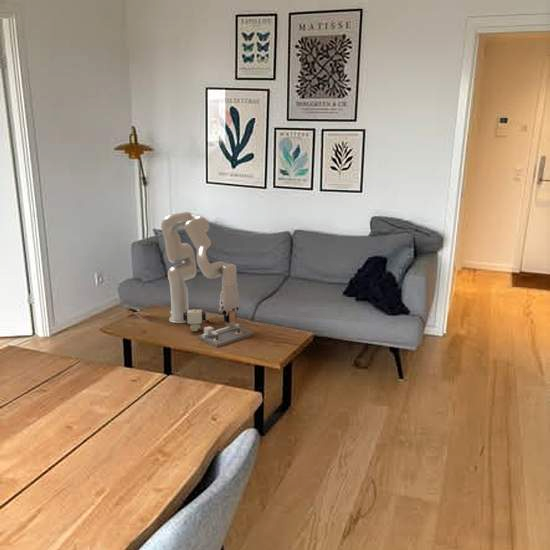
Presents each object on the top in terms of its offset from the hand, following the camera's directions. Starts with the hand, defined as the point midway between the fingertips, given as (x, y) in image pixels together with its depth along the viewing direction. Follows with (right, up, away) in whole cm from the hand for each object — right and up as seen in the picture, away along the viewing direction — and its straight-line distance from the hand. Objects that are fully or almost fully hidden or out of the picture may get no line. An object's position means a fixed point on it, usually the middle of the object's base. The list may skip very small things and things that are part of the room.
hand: (230, 320), depth 286 cm
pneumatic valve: (-19, -6, +4) cm, 20 cm away
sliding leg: (+2, -5, -1) cm, 5 cm away
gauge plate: (-2, -8, -5) cm, 10 cm away
